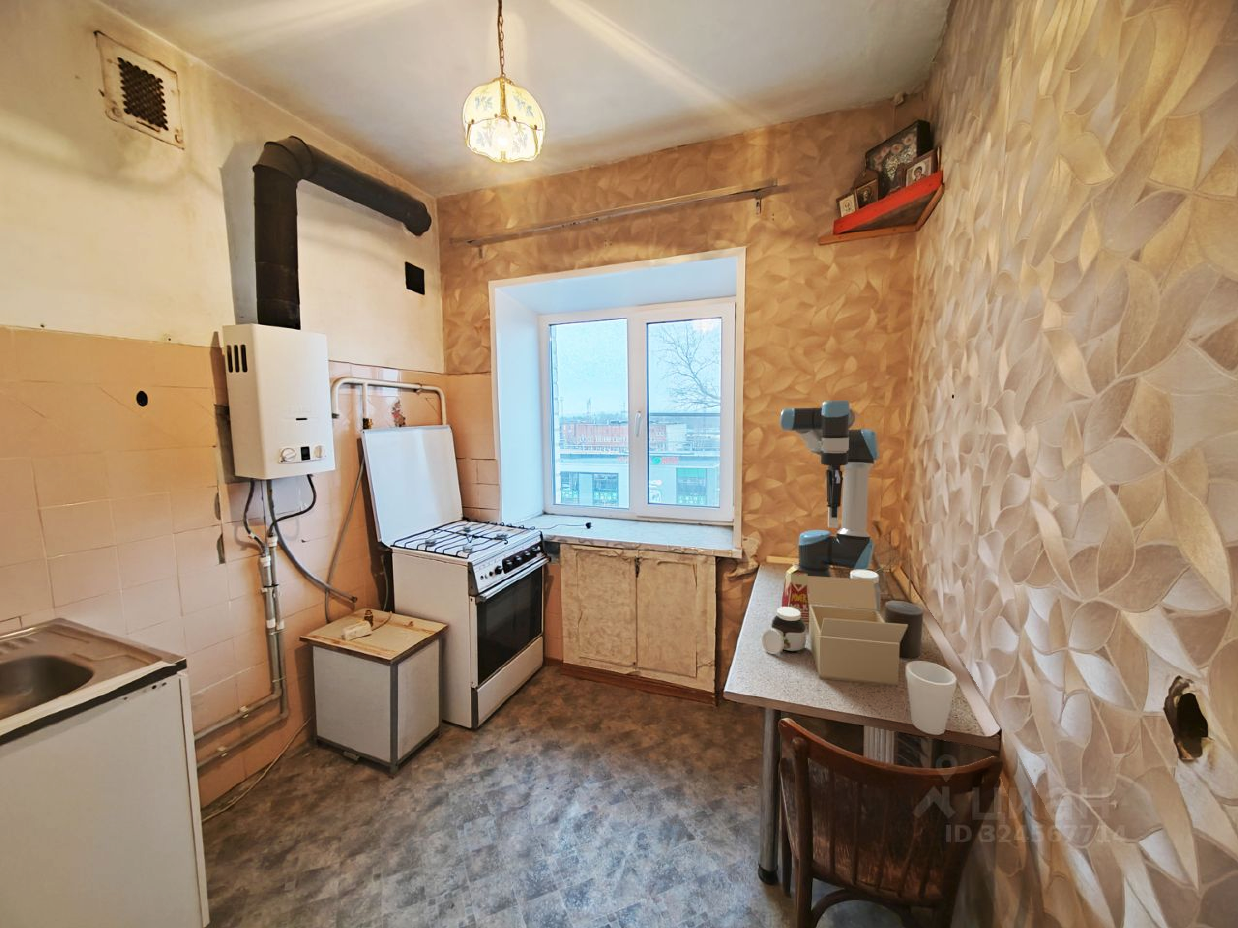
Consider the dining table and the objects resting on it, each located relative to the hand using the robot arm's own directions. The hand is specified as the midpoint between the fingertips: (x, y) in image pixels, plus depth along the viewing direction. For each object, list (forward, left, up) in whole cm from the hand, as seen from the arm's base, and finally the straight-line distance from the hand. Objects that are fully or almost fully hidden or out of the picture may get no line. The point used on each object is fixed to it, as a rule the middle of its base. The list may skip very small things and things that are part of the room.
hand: (832, 526), depth 139 cm
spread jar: (+10, -15, -37) cm, 41 cm away
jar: (-11, +12, -37) cm, 40 cm away
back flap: (+2, +3, -20) cm, 21 cm away
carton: (+14, +2, -36) cm, 39 cm away
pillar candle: (+4, +19, -37) cm, 42 cm away
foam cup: (+38, +14, -37) cm, 55 cm away
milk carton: (-12, -9, -37) cm, 40 cm away
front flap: (+26, +2, -20) cm, 33 cm away
